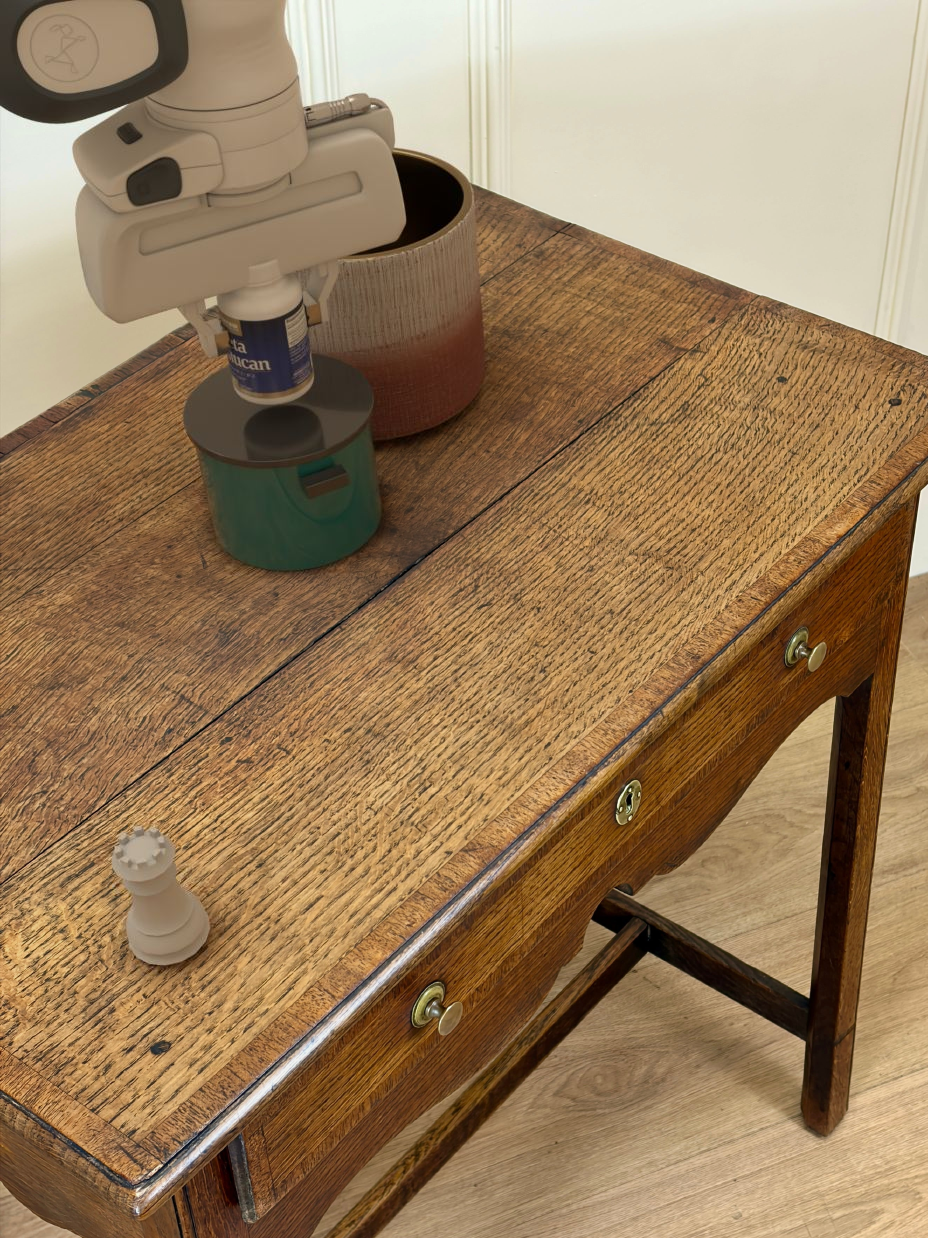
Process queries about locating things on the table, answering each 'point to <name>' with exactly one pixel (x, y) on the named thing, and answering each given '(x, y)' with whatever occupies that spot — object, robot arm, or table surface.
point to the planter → (413, 305)
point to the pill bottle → (268, 337)
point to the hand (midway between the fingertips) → (265, 336)
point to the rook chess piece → (158, 900)
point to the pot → (289, 468)
